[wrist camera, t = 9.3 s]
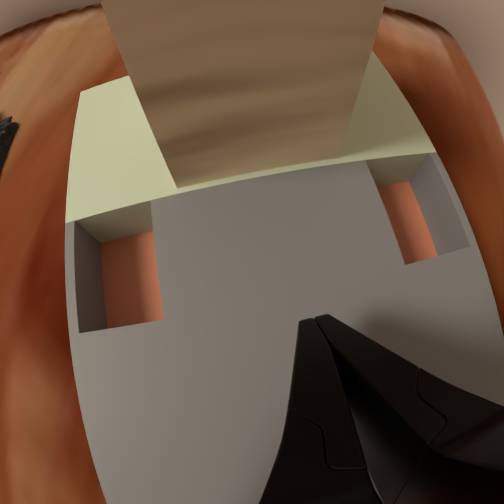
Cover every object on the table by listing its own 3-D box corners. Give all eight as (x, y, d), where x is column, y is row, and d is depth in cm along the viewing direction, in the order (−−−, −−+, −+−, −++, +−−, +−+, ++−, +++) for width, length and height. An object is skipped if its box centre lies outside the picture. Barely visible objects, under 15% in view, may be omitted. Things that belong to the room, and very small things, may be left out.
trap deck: (478, 449, 12) (516, 459, 9) (155, 535, 11) (133, 566, 8) (356, 80, 20) (366, 43, 17) (100, 126, 19) (80, 92, 16)
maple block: (337, 158, 14) (393, -29, 5) (177, 188, 13) (98, -3, 5) (287, 52, 16) (294, -86, 8) (166, 72, 16) (129, -66, 7)
